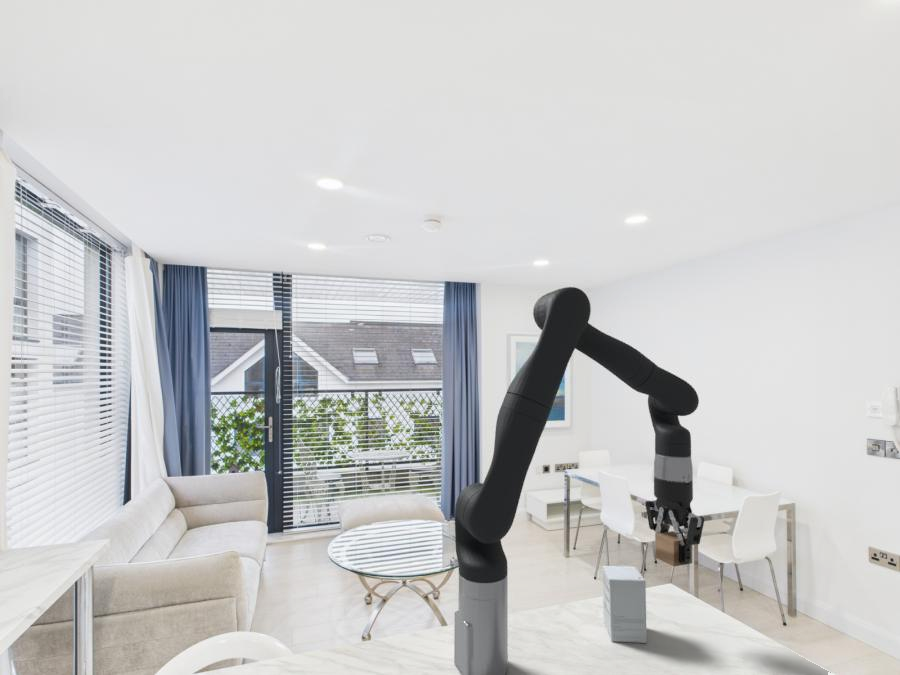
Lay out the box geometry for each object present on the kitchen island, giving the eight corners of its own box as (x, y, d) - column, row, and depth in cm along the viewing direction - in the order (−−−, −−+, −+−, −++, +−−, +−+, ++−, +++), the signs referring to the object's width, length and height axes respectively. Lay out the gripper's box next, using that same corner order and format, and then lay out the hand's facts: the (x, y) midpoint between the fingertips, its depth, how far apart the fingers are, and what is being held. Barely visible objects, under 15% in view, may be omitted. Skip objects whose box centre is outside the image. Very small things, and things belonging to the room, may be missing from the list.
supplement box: (637, 625, 108) (636, 565, 109) (647, 644, 101) (646, 580, 101) (602, 623, 109) (601, 564, 109) (610, 642, 101) (609, 578, 102)
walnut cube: (673, 566, 101) (673, 541, 101) (655, 557, 106) (655, 533, 106) (692, 563, 103) (692, 538, 103) (673, 554, 107) (673, 531, 108)
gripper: (634, 470, 110) (635, 548, 109) (687, 485, 97) (687, 574, 96) (660, 468, 113) (661, 544, 112) (715, 482, 100) (716, 569, 99)
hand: (673, 557), depth 104 cm, fingers closed on walnut cube, 5 cm apart
